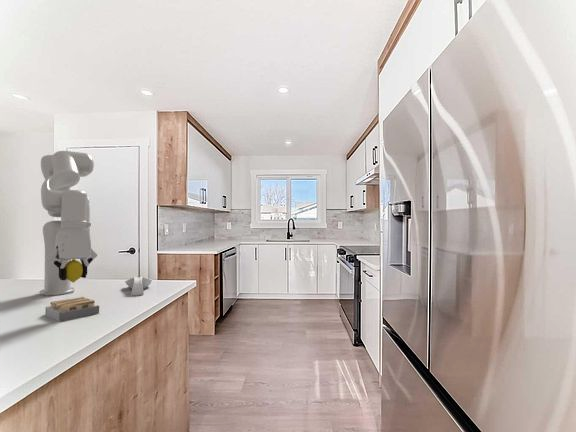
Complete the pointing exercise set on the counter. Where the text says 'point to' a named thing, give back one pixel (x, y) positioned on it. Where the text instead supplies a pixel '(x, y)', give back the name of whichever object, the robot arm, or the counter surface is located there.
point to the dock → (71, 312)
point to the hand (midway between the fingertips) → (73, 278)
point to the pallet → (72, 304)
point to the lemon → (73, 270)
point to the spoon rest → (138, 285)
